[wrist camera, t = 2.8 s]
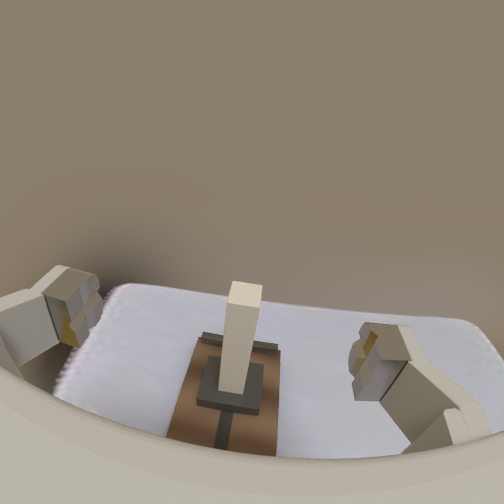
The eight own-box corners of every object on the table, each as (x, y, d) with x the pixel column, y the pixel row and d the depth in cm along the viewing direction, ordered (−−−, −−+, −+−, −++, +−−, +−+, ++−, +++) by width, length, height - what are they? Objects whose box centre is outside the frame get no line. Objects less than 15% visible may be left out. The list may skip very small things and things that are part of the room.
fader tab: (258, 415, 25) (284, 324, 20) (196, 405, 25) (197, 310, 20) (262, 371, 31) (284, 279, 25) (208, 362, 31) (214, 267, 25)
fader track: (260, 587, 10) (266, 589, 9) (134, 564, 10) (125, 564, 9) (277, 360, 35) (282, 344, 34) (198, 348, 35) (198, 331, 34)
